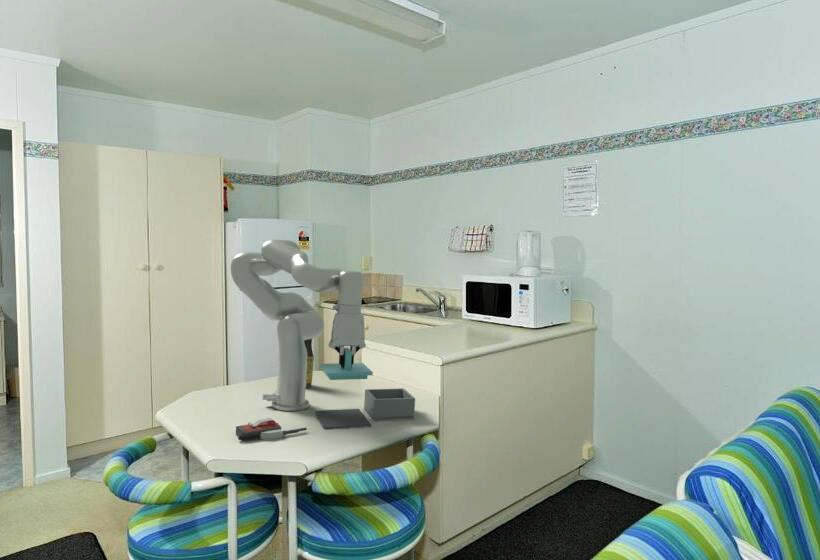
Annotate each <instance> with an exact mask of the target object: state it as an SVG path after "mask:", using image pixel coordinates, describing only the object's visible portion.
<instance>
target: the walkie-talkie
mask: <svg viewBox="0 0 820 560" xmlns="http://www.w3.org/2000/svg"><path fill="white" fill-rule="evenodd" d="M307 430H308V429H307V427H302V428H301V427H299V428H295V429H294V428H293V429H289V430H282V426H281V425H280V424H279V423H278V422H276V421H275V420H274V419H273V418H271V417H268V418H262V419H258V420H257V421H254V422H253V423H252V421H251V422H250V421H249V422H247V424H242V425H237V426H236V427H235V435H236V437H237V438H238V439H237V440H239V441H242V442H246V441H247V442H248V441H253V440H254V441H255V440H259V439H260V440H268V441H269V440H274V439H275V440H276V439H283V437H284V436H286V435H290V434H296V433H299V432H304V431H307Z"/></svg>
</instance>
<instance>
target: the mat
mask: <svg viewBox="0 0 820 560" xmlns="http://www.w3.org/2000/svg"><path fill="white" fill-rule="evenodd" d="M314 414H315V415H316V417H317V420H318V422H319V423H320V425H321V427H322V429H323V430H328V429H329V430H331V429H333V430H334V429H335V428H336V429H351V428H350V427H355V428H371V427H372V424H371V422H370V421H369V420H368V419H367V417H366V416H365V415H364V413H363V412H362V411H361V409H360V408H347V409H324V410H323V409H320V410H315V411H314ZM336 429H335V430H336Z"/></svg>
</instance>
